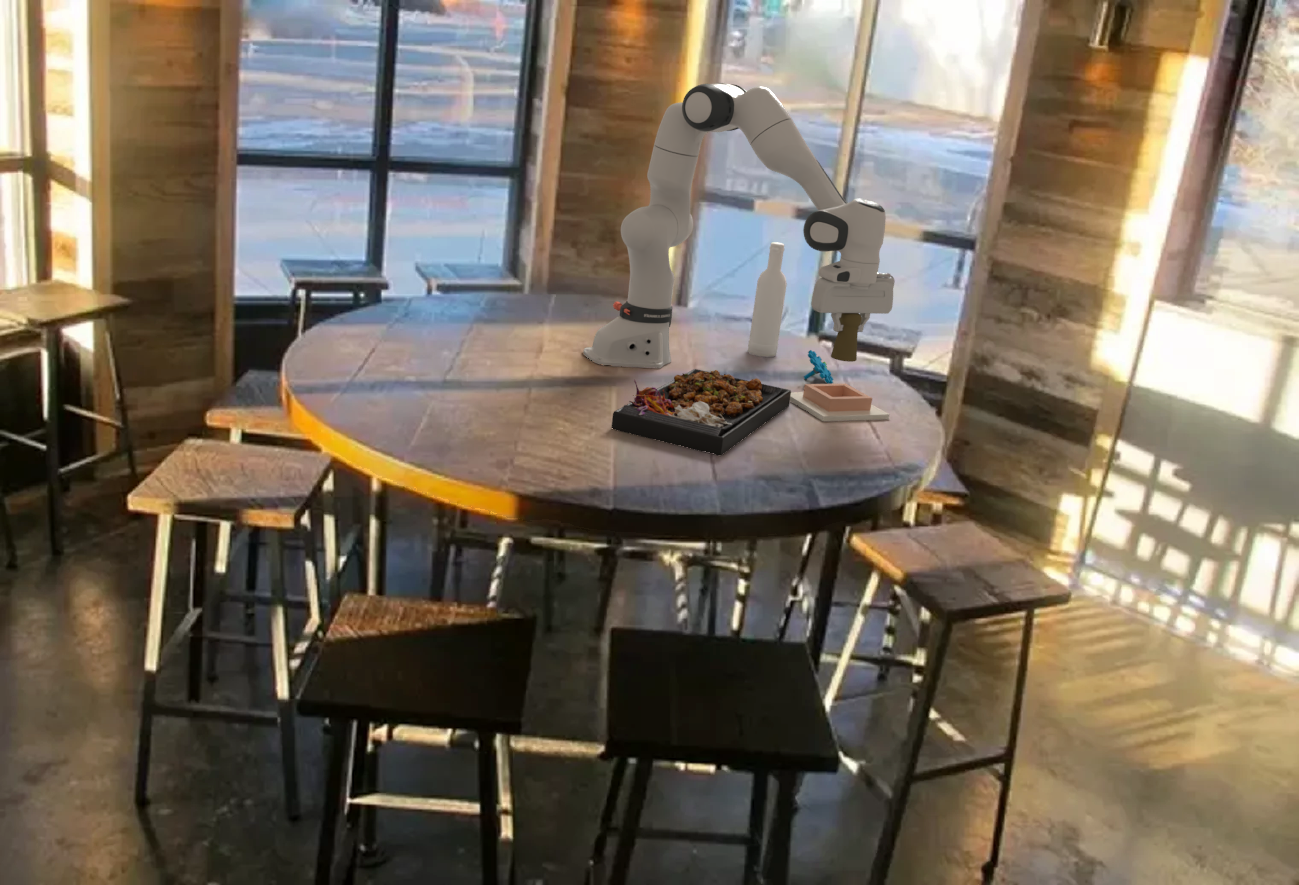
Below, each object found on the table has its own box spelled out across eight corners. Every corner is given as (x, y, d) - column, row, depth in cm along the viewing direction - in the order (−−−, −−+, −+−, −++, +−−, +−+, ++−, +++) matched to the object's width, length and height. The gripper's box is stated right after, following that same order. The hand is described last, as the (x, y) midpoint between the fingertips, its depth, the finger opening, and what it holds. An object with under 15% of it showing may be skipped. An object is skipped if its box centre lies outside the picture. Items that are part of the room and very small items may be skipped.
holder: (822, 421, 278) (825, 403, 276) (783, 397, 293) (786, 380, 292) (888, 419, 285) (891, 402, 284) (847, 395, 300) (849, 379, 299)
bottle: (743, 353, 329) (758, 242, 320) (752, 347, 336) (767, 239, 327) (771, 359, 327) (788, 247, 317) (780, 353, 334) (796, 244, 324)
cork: (858, 357, 287) (866, 312, 283) (853, 363, 282) (861, 316, 278) (833, 352, 289) (841, 307, 285) (828, 358, 283) (835, 311, 280)
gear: (830, 383, 304) (808, 349, 305) (811, 396, 306) (789, 362, 307) (839, 379, 314) (818, 347, 315) (820, 392, 316) (799, 360, 317)
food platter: (720, 458, 247) (726, 410, 244) (611, 431, 256) (616, 384, 253) (788, 408, 287) (795, 366, 284) (691, 386, 296) (697, 345, 292)
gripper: (887, 270, 286) (877, 328, 290) (812, 268, 277) (803, 327, 282) (903, 276, 280) (892, 335, 285) (827, 274, 272) (817, 334, 276)
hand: (847, 331), depth 283 cm, fingers closed on cork, 4 cm apart
